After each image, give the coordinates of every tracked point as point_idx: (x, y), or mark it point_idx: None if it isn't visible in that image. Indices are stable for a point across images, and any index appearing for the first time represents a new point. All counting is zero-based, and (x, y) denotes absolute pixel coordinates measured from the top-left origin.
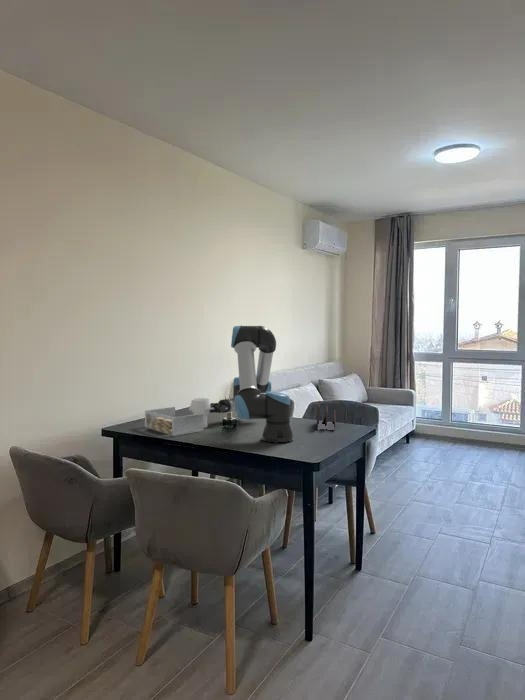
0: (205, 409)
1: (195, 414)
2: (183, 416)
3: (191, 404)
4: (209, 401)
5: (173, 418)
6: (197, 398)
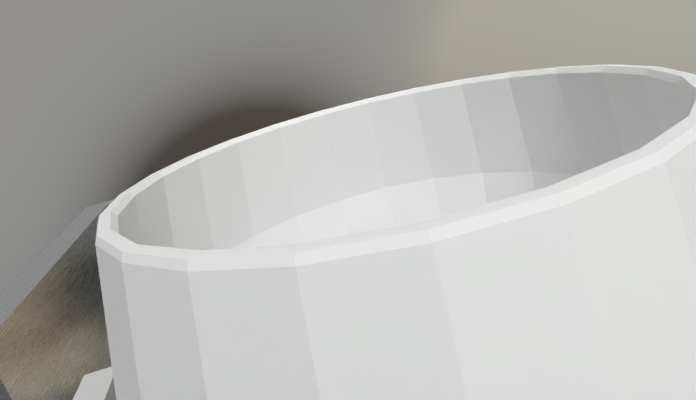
0: (82, 395)
1: (25, 294)
2: (70, 234)
3: (413, 177)
4: (140, 336)
5: (91, 207)
6: (652, 74)
